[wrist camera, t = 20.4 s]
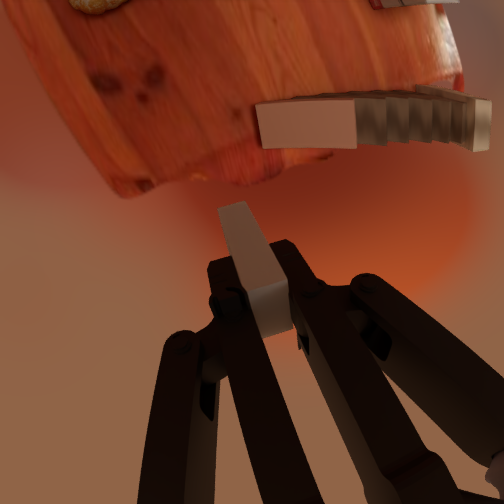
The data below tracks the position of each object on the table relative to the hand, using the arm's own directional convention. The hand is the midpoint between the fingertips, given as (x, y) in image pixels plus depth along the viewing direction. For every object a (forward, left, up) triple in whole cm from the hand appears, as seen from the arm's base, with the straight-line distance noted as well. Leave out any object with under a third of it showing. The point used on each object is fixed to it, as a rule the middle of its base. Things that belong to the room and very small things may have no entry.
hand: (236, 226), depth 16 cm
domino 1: (0, +8, -24) cm, 25 cm away
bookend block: (0, +39, -24) cm, 46 cm away
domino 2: (0, +13, -24) cm, 27 cm away
